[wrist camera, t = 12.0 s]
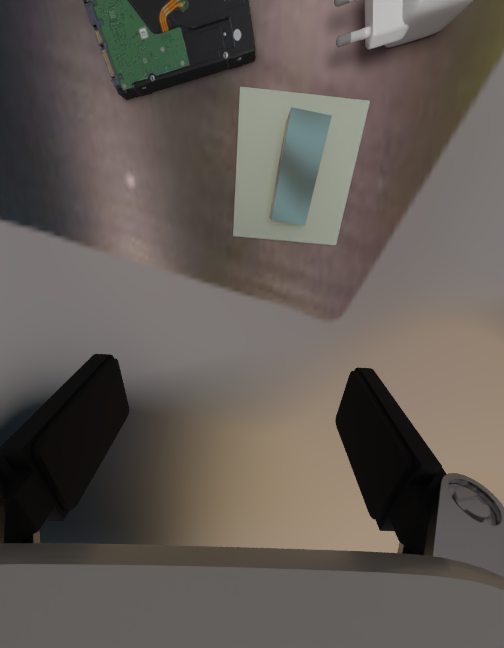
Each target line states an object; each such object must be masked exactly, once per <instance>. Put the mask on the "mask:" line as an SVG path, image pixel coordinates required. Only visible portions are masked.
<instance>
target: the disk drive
mask: <svg viewBox="0 0 504 648" xmlns="http://www.w3.org/2000/svg"><path fill="white" fill-rule="evenodd" d="M83 2H84V3H85V5H84V6H85V9H86V12H87V15H88V17H89V20H90V23H91V25H92V26H93V27H94V29H95V34H96V37H97V39H98V42H99V45H100V46H101V48H102V49H101V51H102V53H103V56H104V59H105V62H106V64H107V67H108V70H109V73H110V76H111V77H112V78H113V79H111V81H112V83H113V84H114V86H115V87H116V89H117V92H118V94H119V95H120V96H122V97H123V98H125V99H126V100H128V99H131V98H134V97H138V96H144V95H147V94H151V93H152V92H154V91H158V90H161V89H164V88H168V87H171V86H175V85H178V84H181V83H185V82H188V81H191V80H194V79H198V78H201V77H204V76H207V75H210V74H214V73H217V72H221V71H224V70H227V69H232V68H236V67H239V66H242V65H243V64H247V63H249V62H254V60H255V43H254V36H253V29H252V22H251V16H250V10H249V3H248V0H83Z"/></svg>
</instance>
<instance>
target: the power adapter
mask: <svg viewBox="0 0 504 648" xmlns="http://www.w3.org/2000/svg"><path fill="white" fill-rule="evenodd" d="M351 1H354V0H334V4H335V6H336V7H338V6H341V5H344V4H347V3H349V2H351ZM473 1H474V0H365V28H362V29H360V30H357V31H354V32H349V33H346V34H343V35H339V36H338V37H337V40H336V45H337V47H341V46H344V45H347V44H350V43H352V42H355V41H358V40H363V39H365V47H366V48H367V49H368V50H369V49H372V48H376V47H379V46H382V45H384V46H385V47H388V48H389V47H394V46H397V45H401V44H404V43H408V42H411V41H414V40H418V39H421V38H424V37H427V36H430V35H432V34H435V33H437V32H439V31H440V30H442V29H443V28H444V27H446V26H447V25H448V24H449V23H450V22H451V21H452V20H454V19H455V18H456V17H457V16H458V15H459V14H460V13H461V12H462V11H463V10H465V9H466V8H467V7H468V6H469V5H470V4H471V3H472V2H473Z"/></svg>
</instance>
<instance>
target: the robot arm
mask: <svg viewBox="0 0 504 648" xmlns="http://www.w3.org/2000/svg"><path fill="white" fill-rule="evenodd" d="M128 414H129V405H128V401H127V397H126V393H125V388H124V384H123V380H122V376H121V371H120V367H119V363H118V360H117V359H114V357H113V356H112V355H107V354H94V355H93V356H92V357H91V358H90V359H89V360H88V361H87V362H86V363H85V364H84V365H83V366H82V367H81V368H80V369H79V370H78V371H77V372H76V373H75V374H74V375H73V376H72V377H71V378H70V379H69V380H68V381H67V382H66V383H65V384H63V386H61V387H60V389H59V390H57V391H56V392H55V393H54V395H52V396H51V398H49V399H48V400H47V401H46V402H45V403H44V404H43V405H42V406H41V407H40V408H39V409H38V410H37V411H36V412H35V413H34V414H33V415H32V416H31V417H30V418H29V419H28V420H27V421H26V422H25V423H24V424H23V425H22V426H21V427H20V428H19V429H18V430H17V431H16V432H15V433H14V434H13V435H12V436H11V437H10V438H9V439H8V440H7V441H6V442H5V443H4V444H3V445H2V446H1V447H0V648H504V507H503V505H502V504H501V502H500V501H499V500H498V499H497V498H496V497H495V496H494V495H493V494H492V493H491V492H490V491H489V490H488V489H486V488H485V487H484V486H483V485H481V484H480V483H478V482H476V481H475V480H473V479H471V478H469V477H467V476H465V475H461V474H457V473H450V474H446V473H445V471H444V470H443V468H442V465H441V464H440V463H439V461H438V460H437V458H436V457H435V456H434V454H433V453H432V451H431V450H430V448H429V447H428V446H427V444H426V443H425V441H424V440H423V439H422V437H421V436H420V434H419V433H418V432H417V430H416V429H415V428H414V426H413V425H412V423H411V422H410V420H409V419H408V418H407V417H406V415H405V413H404V412H403V411H402V409H401V408H400V406H399V405H398V404H397V402H396V401H395V399H394V398H393V397H392V395H391V394H390V393H389V391H388V390H387V388H386V387H385V386H384V384H383V383H382V381H381V380H380V378H379V377H378V376H377V374H376V373H375V372H374V370H373V369H371V368H356V369H355V371H351V373H350V375H349V378H348V381H347V384H346V388H345V391H344V394H343V397H342V400H341V403H340V406H339V410H338V412H337V415H336V426H337V429H338V432H339V434H340V437H341V440H342V442H343V445H344V448H345V450H346V453H347V456H348V458H349V461H350V464H351V467H352V469H353V472H354V475H355V477H356V480H357V483H358V485H359V488H360V491H361V493H362V496H363V499H364V501H365V504H366V507H367V509H368V512H369V514H370V516H371V517H372V518H373V519H376V522H377V524H378V527H379V530H380V531H395V533H396V535H397V537H398V540H399V541H400V543H399V548H398V552H397V553H382V552H362V551H334V550H306V549H305V550H304V549H276V548H241V547H204V546H167V545H122V544H121V545H120V544H77V543H76V544H75V543H74V544H73V543H40V536H39V530H40V528H41V526H42V525H43V524H44V522H45V520H47V521H64V519H65V517H66V515H67V514H68V512H69V511H70V510H71V509H73V508H75V507H76V506H77V504H78V503H79V501H80V499H81V497H82V496H83V494H84V492H85V490H86V489H87V487H88V485H89V483H90V482H91V480H92V478H93V476H94V475H95V473H96V471H97V469H98V468H99V466H100V464H101V462H102V461H103V459H104V457H105V455H106V454H107V452H108V450H109V448H110V447H111V444H112V443H113V441H114V439H115V438H116V436H117V434H118V432H119V431H120V429H121V427H122V425H123V424H124V422H125V420H126V418H127V416H128Z"/></svg>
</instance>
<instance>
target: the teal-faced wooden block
mask: <svg viewBox="0 0 504 648" xmlns="http://www.w3.org/2000/svg"><path fill="white" fill-rule="evenodd" d="M331 117H332V115H327V114H322V113H317V112H312V111H307V110H303V109H298V108H293V107H291V110H290V112H289V115H288V117H287V120H286V125H285V131H284V137H283V142H282V148H281V154H280V159H279V165H278V171H277V176H276V182H275V188H274V193H273V199H272V204H271V210H270V216H269V218H270V219H271V220H277V221H282V222H288V223H294V224H299V225H305V224H306V220H307V216H308V212H309V208H310V204H311V199H312V195H313V191H314V187H315V183H316V179H317V175H318V171H319V166H320V162H321V158H322V154H323V150H324V146H325V142H326V138H327V133H328V129H329V125H330V121H331Z"/></svg>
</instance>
